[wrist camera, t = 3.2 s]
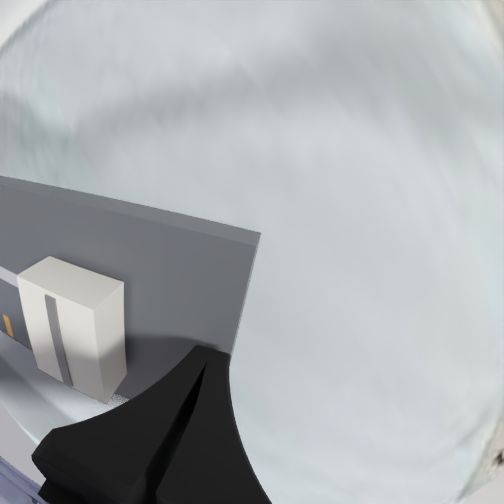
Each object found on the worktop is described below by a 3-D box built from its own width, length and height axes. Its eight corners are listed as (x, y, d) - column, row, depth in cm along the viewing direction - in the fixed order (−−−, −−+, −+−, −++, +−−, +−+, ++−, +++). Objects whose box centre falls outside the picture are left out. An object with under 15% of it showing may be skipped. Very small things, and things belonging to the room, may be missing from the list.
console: (-19, 298, 16) (-32, 306, 14) (-34, 169, 12) (-50, 174, 11) (219, 406, 15) (213, 427, 13) (260, 233, 11) (256, 246, 10)
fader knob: (61, 344, 12) (37, 369, 10) (49, 255, 11) (14, 276, 9) (126, 373, 12) (105, 405, 10) (123, 282, 11) (91, 311, 8)
